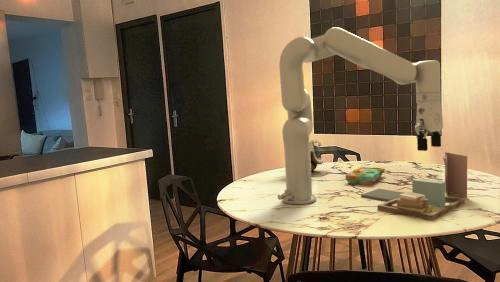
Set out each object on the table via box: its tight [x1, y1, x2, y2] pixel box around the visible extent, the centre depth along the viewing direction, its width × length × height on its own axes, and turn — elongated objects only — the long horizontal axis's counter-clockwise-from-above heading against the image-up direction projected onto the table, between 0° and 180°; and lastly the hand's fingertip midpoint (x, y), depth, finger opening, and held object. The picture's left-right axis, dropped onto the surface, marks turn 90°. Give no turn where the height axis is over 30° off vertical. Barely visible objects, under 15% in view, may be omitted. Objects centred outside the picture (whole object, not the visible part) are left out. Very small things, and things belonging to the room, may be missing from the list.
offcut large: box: [391, 203, 433, 214], centre depth 135 cm, size 7×10×2 cm
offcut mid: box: [397, 198, 429, 210], centre depth 134 cm, size 6×8×2 cm
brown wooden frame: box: [377, 195, 466, 221], centre depth 139 cm, size 24×18×2 cm
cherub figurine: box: [309, 139, 333, 178], centre depth 202 cm, size 18×18×18 cm
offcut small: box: [400, 191, 425, 203], centre depth 134 cm, size 5×6×2 cm
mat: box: [360, 188, 405, 202], centre depth 155 cm, size 12×12×1 cm
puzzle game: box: [344, 166, 386, 186], centre depth 183 cm, size 12×5×20 cm
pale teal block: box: [411, 177, 446, 208], centre depth 142 cm, size 3×10×8 cm, turn 41°
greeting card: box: [442, 151, 468, 199], centre depth 150 cm, size 11×7×15 cm, turn 159°
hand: (429, 148), depth 140 cm, fingers open, 9 cm apart
